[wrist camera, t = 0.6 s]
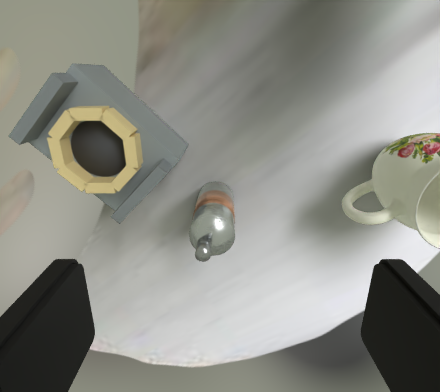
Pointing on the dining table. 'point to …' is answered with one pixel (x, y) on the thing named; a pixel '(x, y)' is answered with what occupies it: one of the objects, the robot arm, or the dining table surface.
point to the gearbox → (100, 136)
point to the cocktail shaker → (213, 221)
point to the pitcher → (404, 186)
